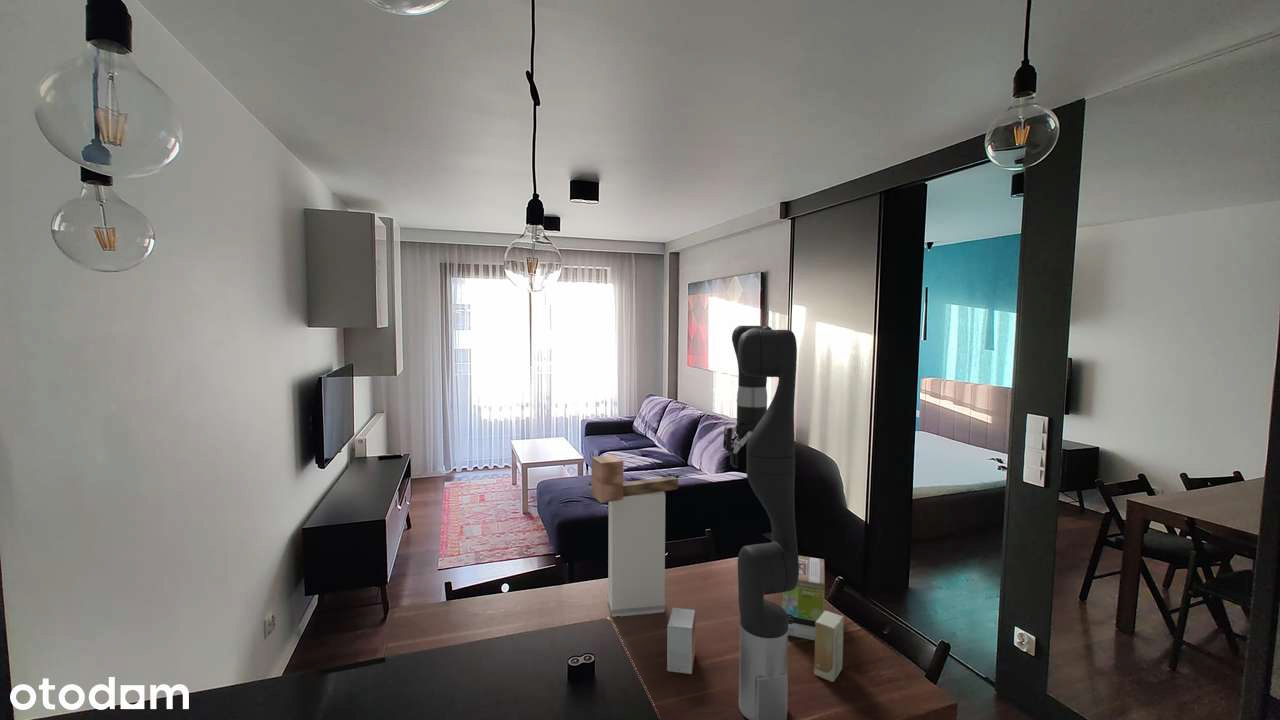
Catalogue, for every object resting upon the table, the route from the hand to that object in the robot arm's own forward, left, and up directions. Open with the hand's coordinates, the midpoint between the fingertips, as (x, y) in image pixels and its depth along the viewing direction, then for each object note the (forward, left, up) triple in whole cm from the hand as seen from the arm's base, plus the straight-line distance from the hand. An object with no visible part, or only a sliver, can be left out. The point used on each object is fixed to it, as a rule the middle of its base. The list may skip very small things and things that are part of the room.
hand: (750, 466), depth 135 cm
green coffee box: (-5, -13, -40) cm, 43 cm away
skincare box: (-24, -9, -40) cm, 48 cm away
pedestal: (+10, +28, -40) cm, 50 cm away
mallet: (+8, +28, -8) cm, 30 cm away
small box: (-15, +22, -40) cm, 48 cm away
